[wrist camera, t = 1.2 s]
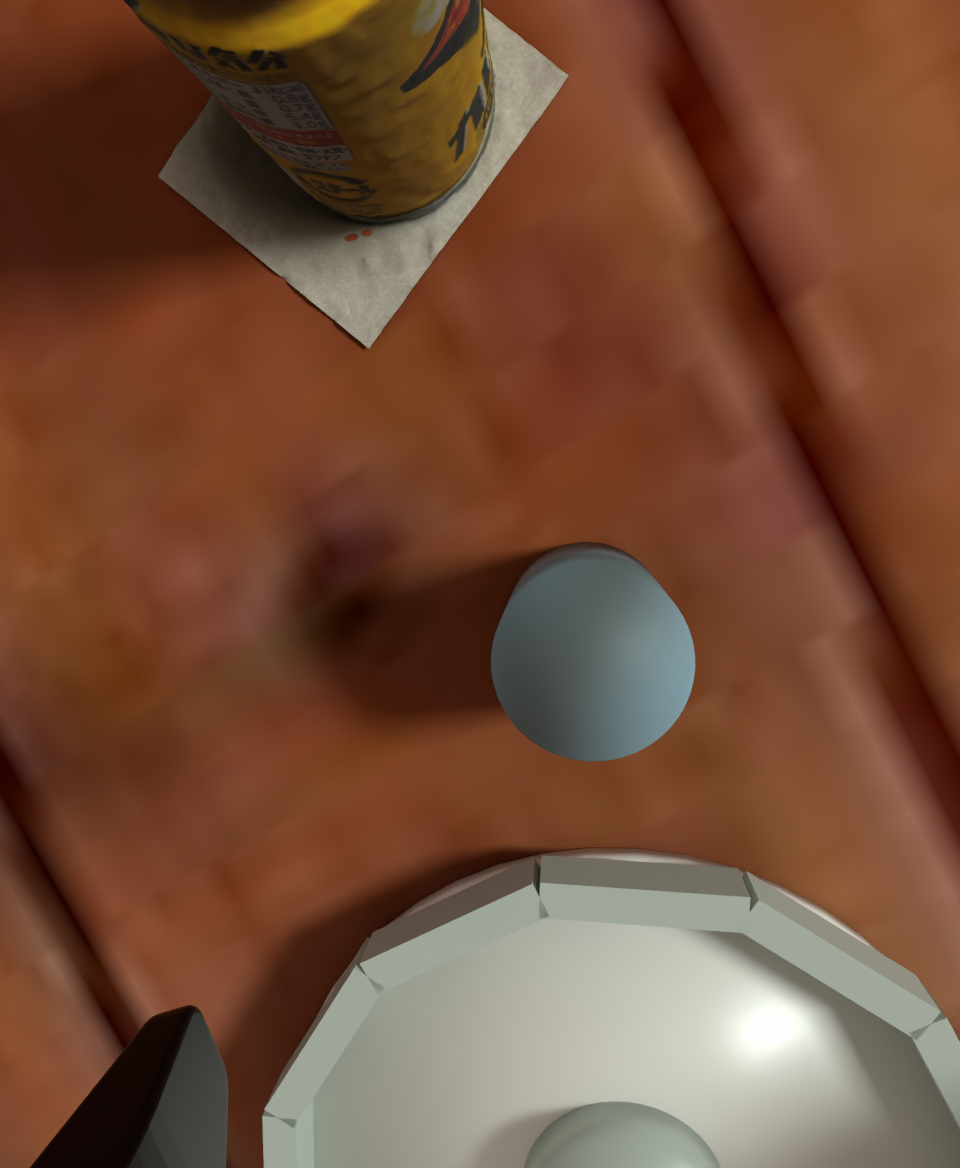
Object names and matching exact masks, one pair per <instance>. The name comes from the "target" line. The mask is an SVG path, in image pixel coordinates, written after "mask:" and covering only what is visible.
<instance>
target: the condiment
mask: <svg viewBox="0 0 960 1168" xmlns="http://www.w3.org/2000/svg"><path fill="white" fill-rule="evenodd" d="M124 1H125V2H126V3H127V5H128V6H129V7H130V8H131V9H132V10H133V11H134V13H135V14H136V15H137V17H138V18H139V19H140V21H141V22H142V23H143V24H144V25H145V26H146V27H147V28H148V29H149V30H150V31H151V32H153V33H154V34H155V35H156V36H157V37H158V39H159V40H161V41H162V42H163V44H164V45H165V46H166V47H167V48H168V49H169V50H170V51H171V52H172V53H173V54H174V56H175V57H176V58H177V59H178V60H180V61H181V62H182V63H183V65H184V66H185V67H186V68H187V69H189V71H190V72H191V73H192V74H193V75H194V76H195V77H196V78H197V79H198V80H199V81H200V82H201V83H202V84H203V85H204V86H205V87H206V88H207V89H208V91H209V92H210V93H211V94H212V95H211V96H210V99H209V101H208V103H207V104H206V106H205V108H204V109H203V110H202V112H201V113H200V115H199V116H198V118H197V119H196V121H195V123H194V124H193V125H192V127H191V128H190V129H189V130H188V131H187V133H186V134H185V136H184V137H183V138H182V139H181V141H180V142H179V143H178V144H177V146H176V148H175V149H174V151H173V153H172V155H171V157H170V158H169V160H168V161H167V163H166V164H165V166H164V167H163V169H162V171H161V172H160V174H159V175H158V177H159V178H160V179H161V180H163V181H164V182H165V183H166V184H168V185H169V186H170V187H171V188H172V189H174V190H175V191H176V192H177V193H179V194H180V195H182V196H183V197H184V198H185V199H186V200H187V201H189V202H190V203H191V204H192V205H194V206H195V207H196V208H197V209H198V210H200V211H201V212H202V213H203V214H205V215H206V216H207V217H208V218H210V219H211V220H212V221H213V222H214V223H216V224H217V225H218V226H219V227H221V228H222V229H223V230H224V231H226V232H227V233H228V234H229V235H230V236H232V237H233V238H234V239H235V240H236V241H238V242H239V243H240V244H241V245H243V246H244V247H245V248H247V249H248V250H249V251H250V252H251V253H252V254H254V255H255V256H256V257H257V258H259V259H260V260H261V261H262V262H263V263H265V264H266V265H267V266H268V267H270V268H271V269H272V270H273V271H274V272H276V273H277V274H278V275H279V276H281V277H283V278H284V279H285V280H286V281H287V282H288V283H289V284H290V285H292V286H293V287H294V288H295V289H296V290H298V291H299V292H300V293H301V294H303V295H304V296H305V297H306V298H307V299H309V300H310V301H311V302H312V303H314V304H315V305H316V306H317V307H319V308H320V309H321V310H322V311H323V312H325V313H326V314H327V315H328V316H330V317H331V318H332V319H333V320H335V321H336V322H337V323H338V324H339V325H340V326H342V327H343V328H344V329H345V330H347V331H348V332H349V333H350V334H351V335H353V336H354V337H355V338H356V339H358V340H359V341H360V342H361V343H363V344H364V345H365V346H366V347H367V348H370V346H371V345H372V344H373V342H374V341H375V339H376V338H377V337H378V335H379V334H380V333H381V331H382V330H383V328H384V327H385V325H386V324H387V322H388V321H389V320H390V318H391V317H392V316H393V315H394V313H395V312H396V311H397V310H398V308H399V307H400V306H401V304H402V303H403V301H404V300H405V299H406V297H407V295H408V294H409V292H410V291H411V289H412V288H413V287H414V285H415V284H416V283H417V282H418V280H419V279H420V278H421V276H422V275H423V273H424V272H425V271H426V270H427V268H428V267H429V266H430V265H431V263H432V261H433V260H434V258H435V257H436V256H437V254H438V253H439V251H440V250H441V249H442V248H443V247H444V246H445V244H446V243H447V241H448V240H449V238H450V237H451V236H452V234H453V233H454V232H455V231H456V229H457V228H458V227H459V225H460V224H461V223H462V222H463V220H464V219H465V218H466V216H467V215H468V214H469V212H470V211H471V210H472V209H473V207H474V206H475V205H476V203H477V202H478V200H479V199H480V198H481V197H482V195H483V194H484V192H485V191H486V189H487V188H488V187H489V185H490V184H491V183H492V181H493V180H494V178H495V177H496V176H497V174H498V173H499V172H500V170H501V169H502V168H503V166H504V165H505V164H506V162H507V161H508V159H509V158H510V157H511V155H512V154H513V153H514V151H515V150H516V149H517V147H518V146H519V145H520V143H521V142H522V141H523V139H524V138H525V136H526V135H527V134H528V132H529V131H530V129H531V128H532V126H533V125H534V123H535V122H536V121H537V120H538V119H539V117H540V116H541V115H542V113H543V112H544V110H545V109H546V108H547V106H548V105H549V104H550V102H551V101H552V99H553V98H554V96H555V95H556V94H557V92H558V91H559V89H560V88H561V86H562V85H563V83H564V81H565V80H566V78H567V77H568V75H567V74H566V73H564V72H563V71H562V70H560V69H559V68H558V67H556V66H555V65H554V64H553V63H552V62H551V61H549V60H548V59H547V58H546V57H545V56H543V55H542V54H541V53H540V52H538V51H537V50H536V49H535V48H534V47H532V46H531V45H530V44H528V43H527V42H525V41H524V40H523V39H522V38H521V37H520V36H519V35H517V34H516V33H515V32H514V31H512V30H510V29H509V28H508V27H507V26H505V25H504V24H503V23H502V22H501V21H499V20H498V19H497V18H495V17H494V16H493V15H492V14H491V13H489V12H488V11H487V10H486V9H485V8H484V7H483V1H482V0H124ZM364 229H369V230H371V232H372V234H371V235H370V236H364V237H363V236H362V234H361V232H362V231H363V230H364ZM350 234H357V235H358V238H357V239H356V240H354V241H351V242H348V241H347V240H345V236H348V235H350Z"/></svg>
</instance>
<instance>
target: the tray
mask: <svg viewBox="0 0 960 1168" xmlns="http://www.w3.org/2000/svg"><path fill="white" fill-rule="evenodd" d="M264 1110H265V1111H264V1114H263V1116H262V1122H263V1156H264V1168H960V1042H959V1040H958V1038H957V1036H956V1034H955V1032H954V1030H953V1029H952V1027H951V1025H950V1023H949V1021H948V1019H947V1017H946V1016H945V1014H944V1013H943V1012H942V1010H941V1009H940V1007H939V1006H938V1004H937V1003H936V1001H935V1000H934V999H933V997H932V996H931V994H930V993H929V991H928V990H927V988H926V987H925V986H924V984H923V983H922V981H919V979H918V978H917V976H916V975H915V974H914V973H912V972H910V971H909V970H907V969H905V968H904V967H902V966H900V965H899V964H897V963H896V962H894V961H892V960H891V959H889V958H887V957H886V956H884V955H883V954H882V953H881V952H879V951H878V950H877V949H876V948H875V947H874V946H873V945H872V944H871V943H870V942H869V941H867V940H866V939H865V938H864V937H863V936H862V935H861V934H859V933H858V932H857V931H855V930H854V929H852V928H851V927H849V926H848V925H847V924H845V923H844V922H842V921H841V920H840V919H838V918H837V917H835V916H834V915H832V914H831V913H830V912H828V911H827V910H825V909H824V908H822V907H821V906H819V905H817V904H815V903H813V902H812V901H810V900H808V899H806V898H804V897H802V896H800V895H798V894H796V893H795V892H793V891H791V890H789V889H787V888H785V887H783V886H781V885H779V884H777V883H775V882H772V881H770V880H767V879H764V878H762V877H759V876H757V875H754V874H751V873H749V872H747V871H744V870H741V869H738V868H736V867H733V866H730V865H726V864H722V863H718V862H714V861H710V860H706V859H702V858H698V857H694V856H690V855H686V854H679V853H671V852H663V851H655V850H647V849H639V848H584V849H575V850H567V851H559V852H550V853H542V854H538V855H534V856H530V857H526V858H522V859H518V860H514V861H510V862H506V863H502V864H498V865H495V866H493V867H490V868H487V869H485V870H482V871H480V872H477V873H475V874H472V875H470V876H467V877H465V878H462V879H459V880H457V881H455V882H453V883H451V884H449V885H448V886H446V887H444V888H442V889H440V890H439V891H437V892H435V893H433V894H431V895H430V896H428V897H426V898H424V899H422V900H421V901H419V902H417V903H416V904H415V905H413V906H412V907H411V908H409V909H408V910H407V911H405V912H404V913H403V914H401V915H400V916H399V917H397V918H396V919H395V920H393V921H392V922H391V923H389V924H388V925H387V926H385V927H383V928H381V929H379V930H376V931H374V932H373V933H372V935H371V938H369V937H367V938H366V940H365V942H364V943H363V945H362V946H361V948H360V950H359V951H358V953H357V954H356V956H355V957H354V959H353V960H352V962H351V963H350V964H349V966H348V967H347V968H346V970H345V971H344V972H343V974H342V975H341V976H340V978H339V979H338V980H337V982H336V983H335V984H334V986H333V987H332V989H331V991H330V993H329V994H328V996H327V998H326V1000H325V1002H324V1004H323V1006H322V1007H321V1009H320V1011H319V1013H318V1015H317V1017H316V1019H315V1020H314V1022H313V1023H312V1025H311V1027H310V1028H309V1030H308V1031H307V1033H306V1034H305V1036H304V1038H303V1039H302V1041H301V1042H300V1044H299V1045H298V1047H297V1049H296V1050H295V1052H294V1053H293V1055H292V1057H291V1058H290V1060H289V1061H288V1063H287V1064H286V1066H285V1068H284V1069H283V1071H282V1073H281V1075H280V1077H279V1079H278V1081H277V1083H276V1085H275V1088H274V1090H273V1092H272V1094H271V1096H270V1098H269V1100H268V1102H267V1104H266V1107H265V1109H264Z"/></svg>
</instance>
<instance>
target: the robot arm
mask: <svg viewBox="0 0 960 1168" xmlns="http://www.w3.org/2000/svg"><path fill="white" fill-rule="evenodd" d="M227 1119H228V1079H227V1073H226V1069H225V1066H224V1063H223V1060H222V1058H221V1056H220V1054H219V1051H218V1049H217V1047H216V1044H215V1042H214V1040H213V1038H212V1035H211V1033H210V1031H209V1028H208V1026H207V1024H206V1021H205V1019H204V1017H203V1015H202V1013H201V1012H200V1010H199V1009H198V1008H197V1007H195V1006H192V1005H187V1006H184V1007H180V1008H177V1009H173V1010H170V1011H166V1012H163V1013H160V1014H157V1015H155V1016H153V1017H151V1018H150V1019H149V1020H148V1021H147V1022H146V1023H145V1024H144V1026H143V1027H142V1028H141V1029H140V1031H139V1032H138V1033H137V1034H136V1036H135V1037H134V1038H133V1039H132V1041H131V1042H130V1043H129V1044H128V1046H127V1047H126V1048H125V1049H124V1051H123V1052H122V1053H121V1054H120V1056H119V1057H118V1058H117V1059H116V1061H115V1062H114V1063H113V1064H112V1066H111V1067H110V1068H109V1069H108V1071H107V1072H106V1073H105V1074H104V1076H103V1077H102V1078H101V1079H100V1081H99V1082H98V1083H97V1084H96V1086H95V1087H94V1088H93V1089H92V1091H91V1092H90V1093H89V1094H88V1096H87V1097H86V1098H85V1099H84V1101H83V1102H82V1103H81V1104H80V1106H79V1107H78V1108H77V1109H76V1111H75V1112H74V1113H73V1114H72V1116H71V1117H70V1118H69V1119H68V1121H67V1122H66V1123H65V1124H64V1126H63V1127H62V1128H61V1129H60V1131H59V1132H58V1133H57V1134H56V1136H55V1137H54V1138H53V1139H52V1141H51V1142H50V1143H49V1144H48V1146H47V1147H46V1148H45V1149H44V1151H43V1152H42V1153H41V1154H40V1156H39V1157H38V1158H37V1159H36V1161H35V1162H34V1163H33V1164H32V1166H31V1167H30V1168H226V1149H227Z"/></svg>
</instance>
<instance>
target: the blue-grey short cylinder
mask: <svg viewBox="0 0 960 1168" xmlns="http://www.w3.org/2000/svg"><path fill="white" fill-rule="evenodd" d="M491 673H492V679H493V684H494V688H495V691H496V694H497V697H498V699H499V701H500V703H501V705H502V708H503V710H504V711H505V713H506V714H507V716H508V717H509V719H510V720H511V721H512V723H513V724H514V725H515V726H516V727H517V728H518V730H519V731H521V732H522V733H523V734H524V735H525V736H526V737H527V738H528V739H530V740H531V741H533V742H534V743H535V744H537V745H538V746H540V747H542V748H544V749H546V750H548V751H549V752H552V753H554V754H557V755H560V756H562V757H566V758H570V759H575V760H583V761H605V760H612V759H617V758H621V757H625V756H628V755H630V754H633V753H635V752H638V751H640V750H642V749H644V748H645V747H647V746H649V745H651V744H652V743H653V742H655V741H656V740H657V739H659V738H660V737H661V736H662V735H663V734H664V733H665V732H666V731H667V730H668V729H669V728H670V727H671V726H672V725H673V724H674V722H675V721H676V720H677V719H678V717H679V716H680V714H681V712H682V710H683V709H684V707H685V705H686V703H687V700H688V698H689V696H690V693H691V689H692V685H693V681H694V673H695V653H694V646H693V641H692V637H691V634H690V631H689V628H688V626H687V624H686V622H685V619H684V617H683V616H682V614H681V612H680V611H679V609H678V608H677V606H676V605H675V604H674V602H673V601H672V600H671V599H670V597H669V596H668V595H667V594H666V592H665V591H664V590H663V588H662V587H661V586H660V585H659V583H658V582H657V581H656V580H655V578H654V577H653V576H652V575H651V573H650V572H649V571H648V570H647V569H646V567H645V566H644V565H642V564H641V563H640V562H639V561H638V560H637V559H635V558H634V557H633V556H631V555H630V554H628V553H626V552H624V551H622V550H620V549H618V548H615V547H613V546H610V545H606V544H601V543H593V542H580V543H573V544H567V545H564V546H561V547H558V548H556V549H553V550H551V551H549V552H547V553H546V554H544V555H542V556H541V557H539V558H538V559H537V560H536V561H534V562H533V563H532V564H531V565H530V566H529V567H528V568H527V569H526V570H525V572H524V573H523V574H522V576H521V577H520V579H519V580H518V582H517V584H516V586H515V588H514V590H513V592H512V595H511V597H510V599H509V601H508V604H507V606H506V608H505V611H504V613H503V615H502V618H501V620H500V622H499V625H498V627H497V630H496V633H495V636H494V640H493V645H492V652H491Z"/></svg>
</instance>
